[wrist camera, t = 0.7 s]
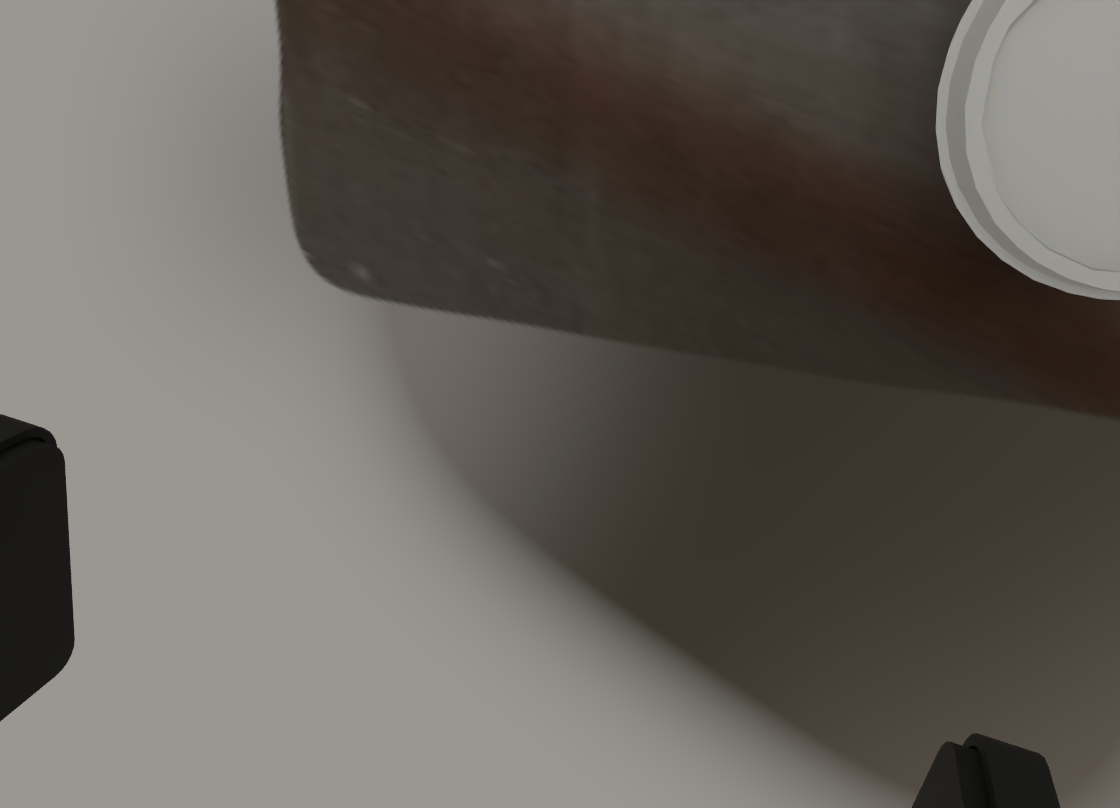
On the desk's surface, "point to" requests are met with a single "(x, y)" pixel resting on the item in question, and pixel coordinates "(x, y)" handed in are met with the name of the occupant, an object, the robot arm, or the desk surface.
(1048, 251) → the disposable coffee cup
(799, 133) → the desk surface
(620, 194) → the desk surface
